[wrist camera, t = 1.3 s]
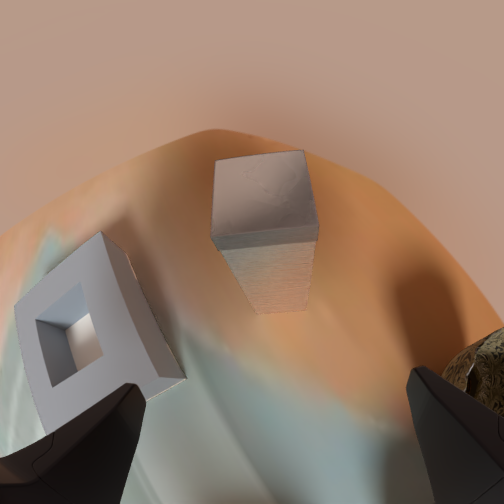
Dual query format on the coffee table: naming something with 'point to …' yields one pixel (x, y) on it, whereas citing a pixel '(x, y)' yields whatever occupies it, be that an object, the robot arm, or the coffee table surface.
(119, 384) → the square well
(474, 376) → the brown ornate lampshade
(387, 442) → the coffee table surface
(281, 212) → the metal bar
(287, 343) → the coffee table surface
